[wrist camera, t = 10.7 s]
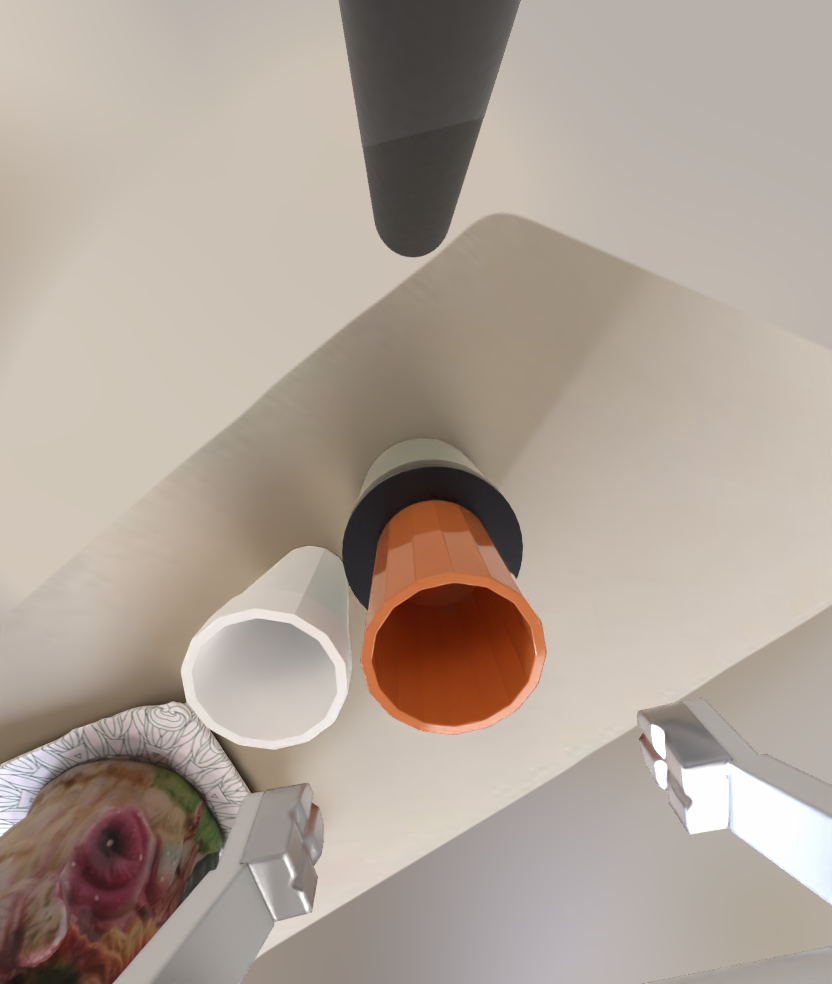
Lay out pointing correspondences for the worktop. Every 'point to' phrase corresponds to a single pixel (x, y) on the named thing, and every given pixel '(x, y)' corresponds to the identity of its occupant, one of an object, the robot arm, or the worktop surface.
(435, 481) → the jar lid
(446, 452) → the jar
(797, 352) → the worktop surface
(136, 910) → the cookie jar
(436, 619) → the cup
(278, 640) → the foam cup
